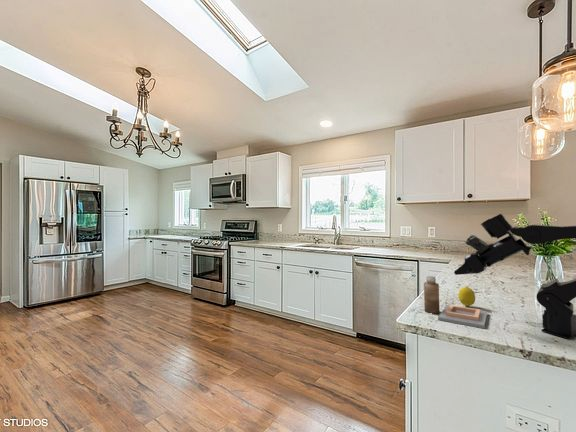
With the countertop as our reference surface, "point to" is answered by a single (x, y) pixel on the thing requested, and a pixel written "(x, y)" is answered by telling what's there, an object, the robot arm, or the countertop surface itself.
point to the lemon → (466, 296)
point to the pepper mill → (431, 296)
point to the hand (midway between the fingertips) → (458, 271)
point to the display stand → (464, 316)
